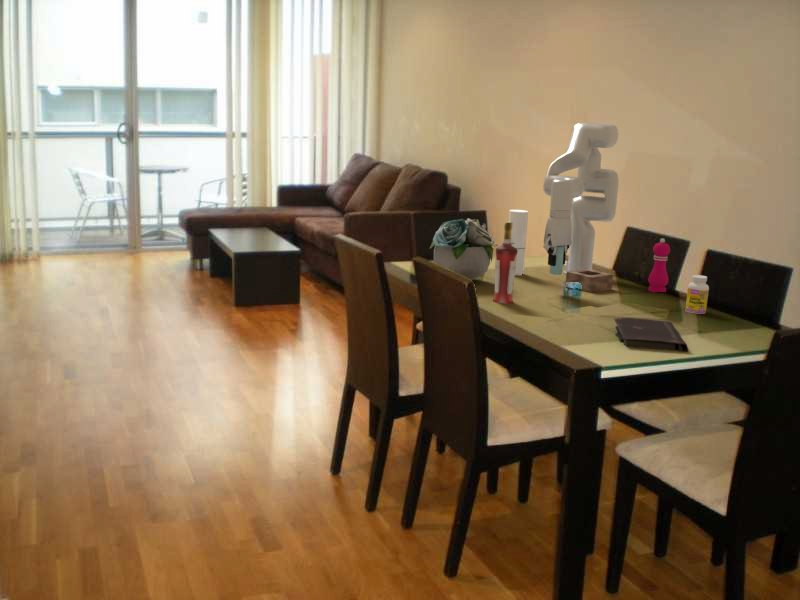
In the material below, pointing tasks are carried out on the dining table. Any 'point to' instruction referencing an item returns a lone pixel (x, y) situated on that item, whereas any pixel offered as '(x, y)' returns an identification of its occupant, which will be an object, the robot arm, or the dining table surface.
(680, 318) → the dining table surface
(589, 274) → the socket block
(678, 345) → the diary
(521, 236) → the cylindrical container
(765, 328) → the dining table surface
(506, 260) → the liquor
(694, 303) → the supplement bottle
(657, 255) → the pepper mill
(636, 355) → the dining table surface
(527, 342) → the dining table surface
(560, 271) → the peg
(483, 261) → the flower arrangement
